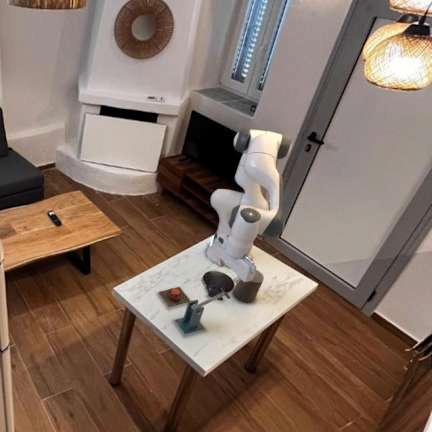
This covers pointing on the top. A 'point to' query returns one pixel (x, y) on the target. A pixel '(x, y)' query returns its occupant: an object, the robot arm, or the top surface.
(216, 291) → the gaming controller
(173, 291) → the button
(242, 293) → the pillar candle
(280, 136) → the robot arm
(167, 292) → the control block
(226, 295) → the lever
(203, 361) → the top surface
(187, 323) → the bracket
